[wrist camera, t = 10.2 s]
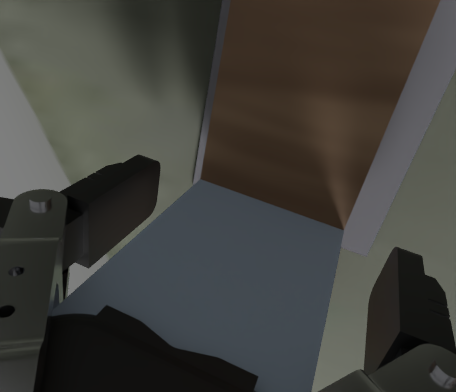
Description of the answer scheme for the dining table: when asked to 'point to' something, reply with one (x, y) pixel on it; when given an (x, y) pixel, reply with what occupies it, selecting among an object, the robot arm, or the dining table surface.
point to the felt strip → (396, 130)
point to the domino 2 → (309, 98)
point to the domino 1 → (226, 283)
